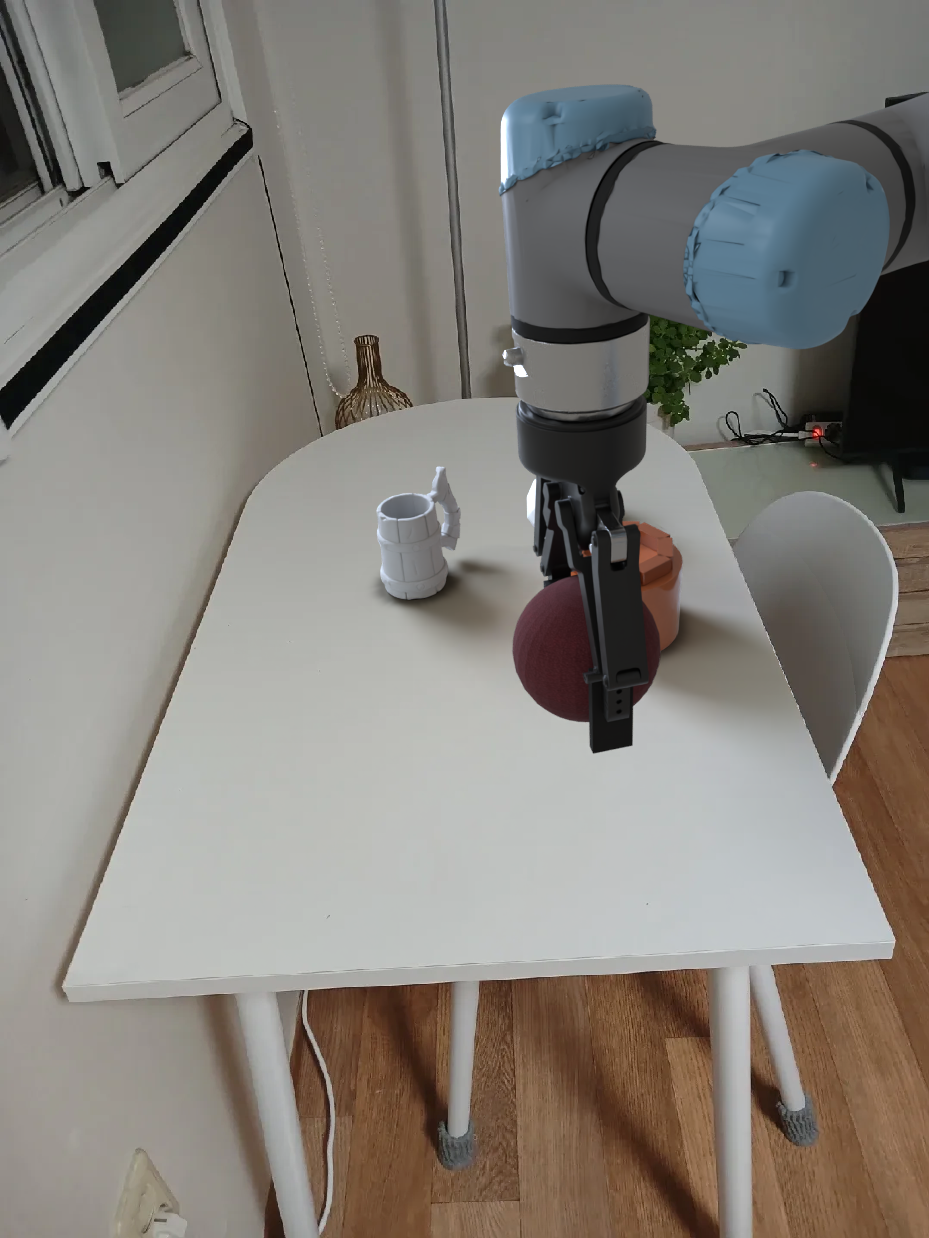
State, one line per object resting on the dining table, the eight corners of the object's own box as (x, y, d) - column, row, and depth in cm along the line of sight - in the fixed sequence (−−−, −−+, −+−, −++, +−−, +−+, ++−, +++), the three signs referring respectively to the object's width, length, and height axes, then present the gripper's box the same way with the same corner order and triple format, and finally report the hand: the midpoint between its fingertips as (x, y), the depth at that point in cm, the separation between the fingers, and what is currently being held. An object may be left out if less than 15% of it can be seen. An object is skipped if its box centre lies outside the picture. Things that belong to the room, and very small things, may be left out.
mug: (368, 588, 108) (352, 494, 101) (437, 543, 115) (427, 452, 108) (417, 609, 104) (404, 512, 97) (486, 561, 111) (478, 468, 104)
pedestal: (680, 662, 93) (685, 580, 87) (557, 658, 95) (554, 578, 89) (677, 593, 102) (681, 516, 97) (565, 591, 104) (563, 515, 99)
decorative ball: (516, 665, 72) (508, 551, 66) (650, 659, 71) (653, 543, 66) (516, 755, 64) (506, 635, 58) (667, 750, 63) (672, 627, 57)
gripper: (476, 345, 63) (499, 619, 76) (573, 492, 45) (582, 822, 57) (585, 328, 64) (590, 602, 77) (724, 466, 46) (700, 797, 58)
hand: (586, 696), depth 67 cm, fingers closed on decorative ball, 10 cm apart
